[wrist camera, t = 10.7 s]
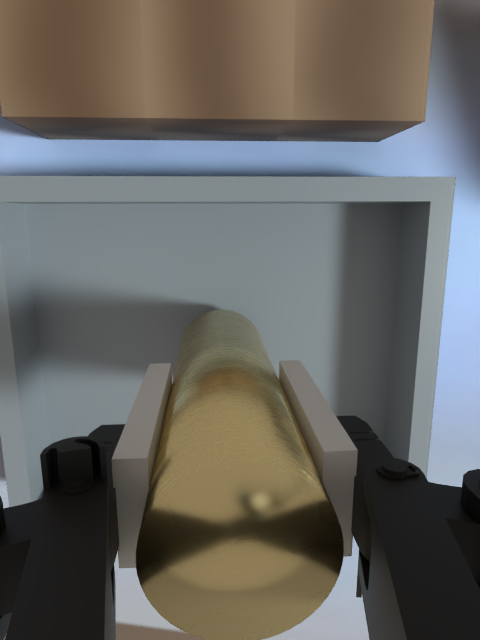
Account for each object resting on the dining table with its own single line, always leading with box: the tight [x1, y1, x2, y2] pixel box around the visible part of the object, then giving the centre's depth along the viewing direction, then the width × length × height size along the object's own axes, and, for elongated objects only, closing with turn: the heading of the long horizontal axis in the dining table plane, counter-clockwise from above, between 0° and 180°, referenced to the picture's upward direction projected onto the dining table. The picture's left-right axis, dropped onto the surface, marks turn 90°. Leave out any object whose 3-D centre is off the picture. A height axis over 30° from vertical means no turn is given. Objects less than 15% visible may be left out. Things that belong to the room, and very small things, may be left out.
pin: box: [136, 310, 344, 640], centre depth 16 cm, size 4×4×14 cm
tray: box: [0, 176, 456, 507], centre depth 22 cm, size 20×16×4 cm
